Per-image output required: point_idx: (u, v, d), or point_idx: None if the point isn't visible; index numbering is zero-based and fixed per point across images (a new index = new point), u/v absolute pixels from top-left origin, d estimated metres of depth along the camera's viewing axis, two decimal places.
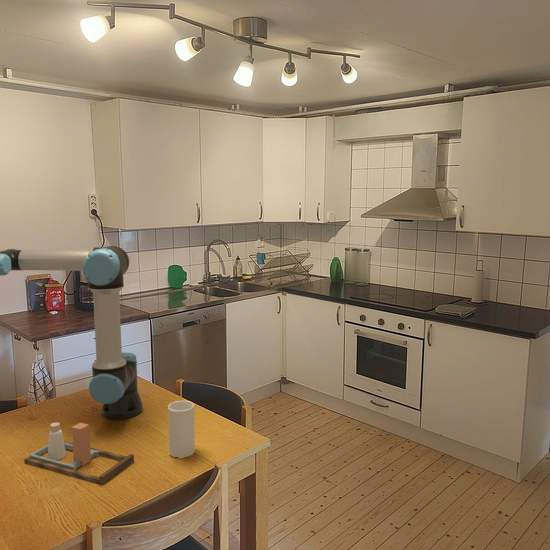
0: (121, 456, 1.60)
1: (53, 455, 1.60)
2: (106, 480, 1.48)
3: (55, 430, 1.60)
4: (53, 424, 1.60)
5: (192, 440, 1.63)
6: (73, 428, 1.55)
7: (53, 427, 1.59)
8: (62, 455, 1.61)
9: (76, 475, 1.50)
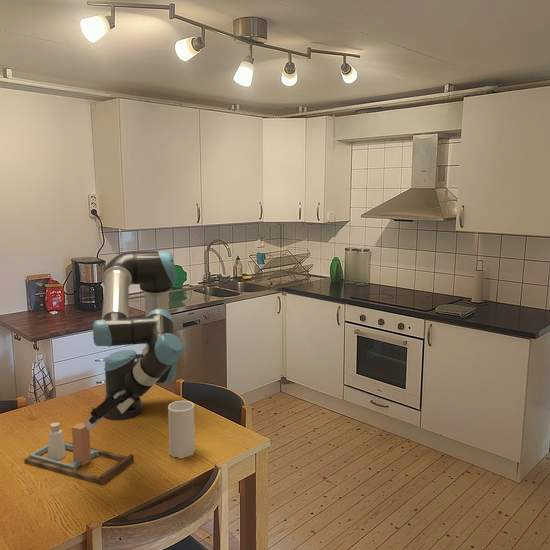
0: (121, 456, 1.60)
1: (53, 455, 1.60)
2: (106, 480, 1.48)
3: (55, 430, 1.60)
4: (53, 424, 1.60)
5: (192, 440, 1.63)
6: (73, 428, 1.55)
7: (53, 427, 1.59)
8: (62, 455, 1.61)
9: (76, 475, 1.50)
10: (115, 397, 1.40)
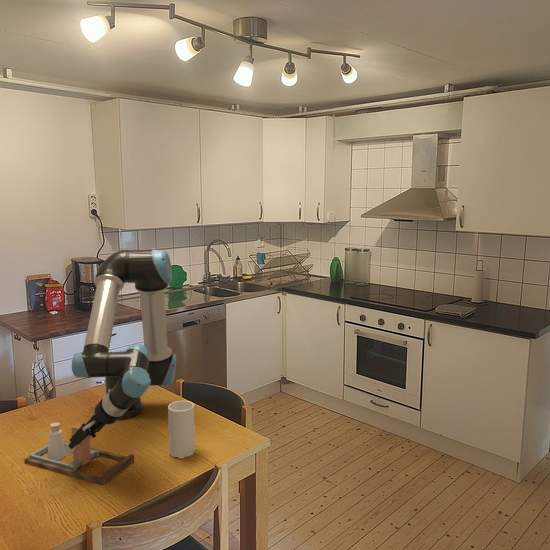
0: (121, 456, 1.60)
1: (53, 455, 1.60)
2: (106, 480, 1.48)
3: (55, 430, 1.60)
4: (53, 424, 1.60)
5: (192, 440, 1.63)
6: (73, 428, 1.55)
7: (53, 427, 1.59)
8: (62, 455, 1.61)
9: (76, 475, 1.50)
10: (83, 430, 1.48)
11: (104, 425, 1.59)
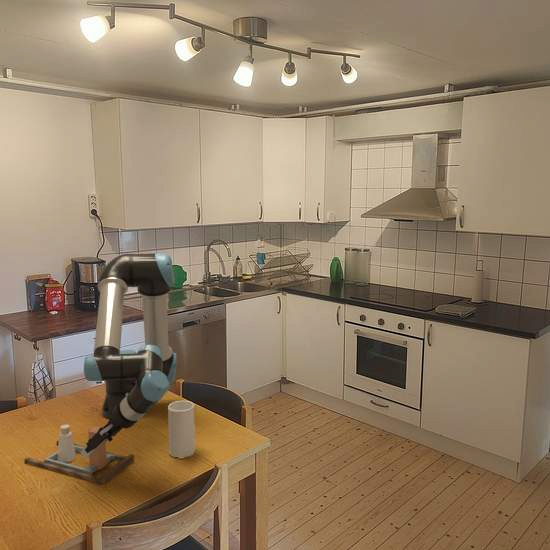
0: (121, 456, 1.60)
1: (64, 458, 1.58)
2: (106, 480, 1.48)
3: (65, 432, 1.58)
4: (63, 426, 1.59)
5: (192, 440, 1.63)
6: (89, 432, 1.53)
7: (63, 429, 1.58)
8: (72, 457, 1.60)
9: (76, 475, 1.50)
10: (101, 434, 1.45)
11: None
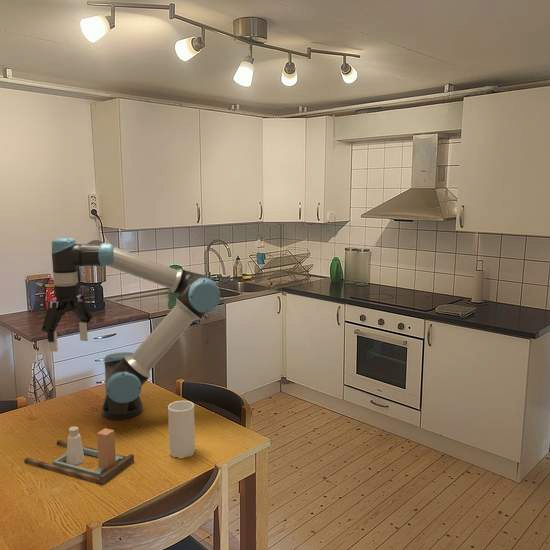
0: (121, 456, 1.60)
1: (72, 460, 1.57)
2: (106, 480, 1.48)
3: (74, 434, 1.57)
4: (72, 428, 1.57)
5: (192, 440, 1.63)
6: (98, 434, 1.51)
7: (72, 431, 1.57)
8: (81, 459, 1.58)
9: (76, 475, 1.50)
10: (51, 306, 1.65)
11: (87, 310, 1.79)
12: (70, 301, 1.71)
